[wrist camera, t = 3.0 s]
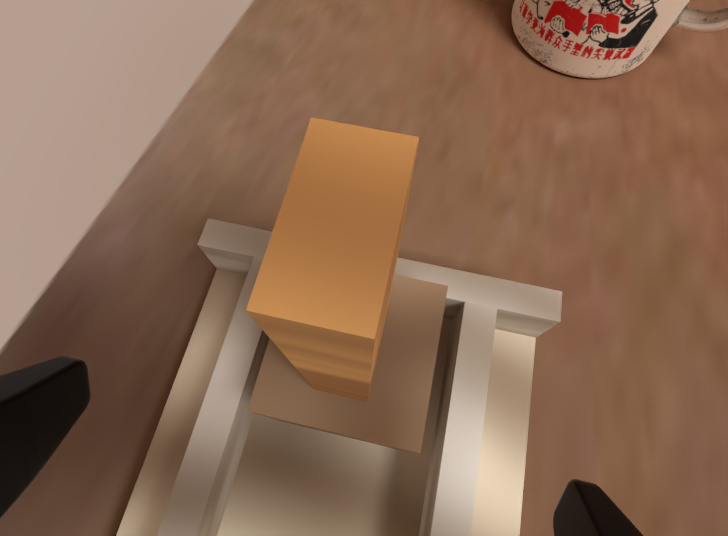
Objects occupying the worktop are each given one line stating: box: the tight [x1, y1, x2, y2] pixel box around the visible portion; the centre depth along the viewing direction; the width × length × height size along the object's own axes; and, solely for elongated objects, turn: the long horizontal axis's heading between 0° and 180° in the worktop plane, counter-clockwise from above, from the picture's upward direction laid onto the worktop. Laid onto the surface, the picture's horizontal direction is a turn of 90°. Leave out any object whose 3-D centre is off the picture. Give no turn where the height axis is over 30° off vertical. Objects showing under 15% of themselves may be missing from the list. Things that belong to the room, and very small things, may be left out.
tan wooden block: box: [246, 118, 448, 453], centre depth 12 cm, size 5×5×13 cm
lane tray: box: [116, 218, 562, 536], centre depth 16 cm, size 20×14×4 cm
